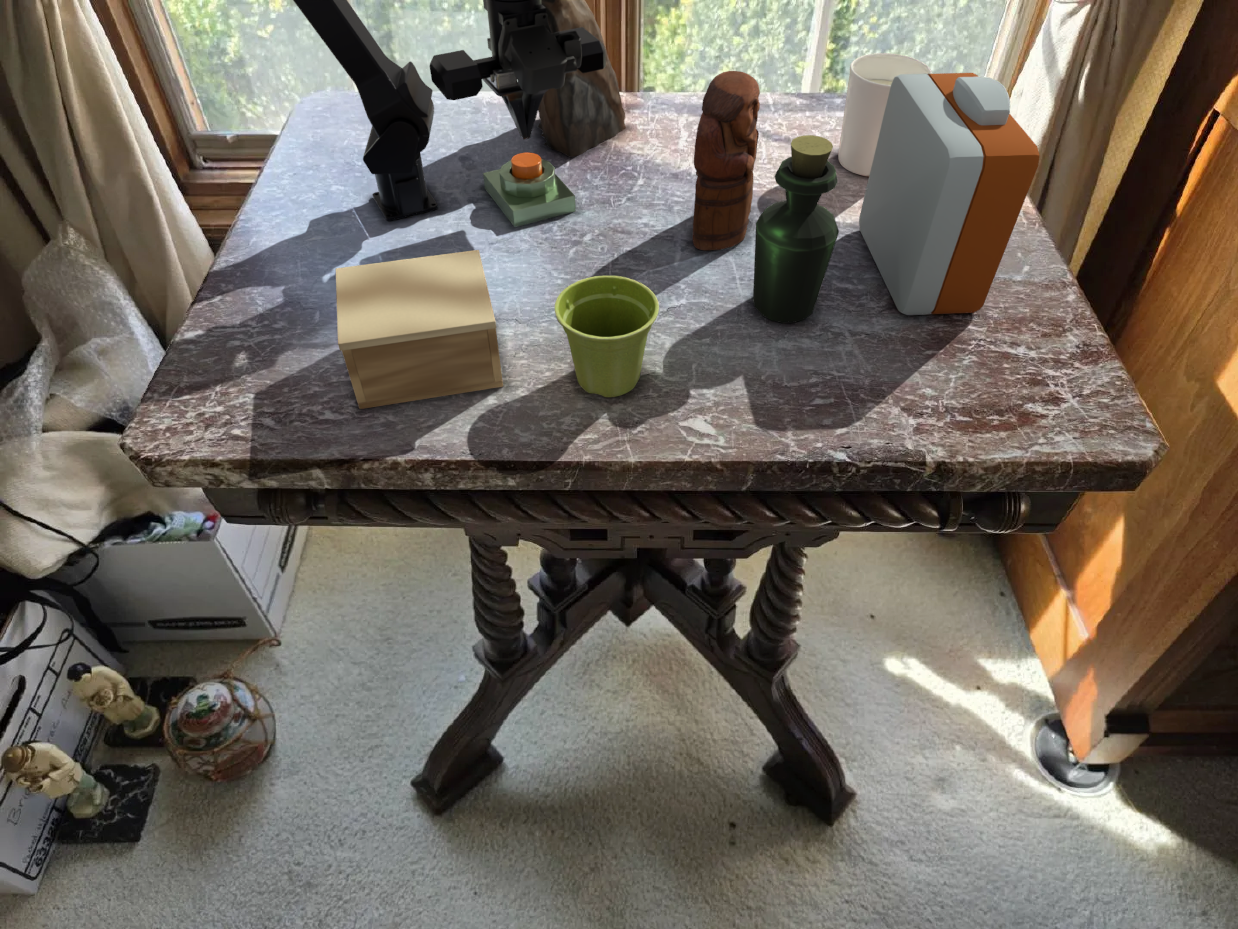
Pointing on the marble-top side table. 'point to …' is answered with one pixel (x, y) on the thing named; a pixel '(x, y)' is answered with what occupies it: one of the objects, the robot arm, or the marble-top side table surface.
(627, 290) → the plant pot
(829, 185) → the potion bottle
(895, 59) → the candle holder
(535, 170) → the button
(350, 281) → the lid
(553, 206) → the button block
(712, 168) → the wooden figurine
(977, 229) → the alarm clock
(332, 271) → the marble-top side table surface
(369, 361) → the chest
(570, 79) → the owl
